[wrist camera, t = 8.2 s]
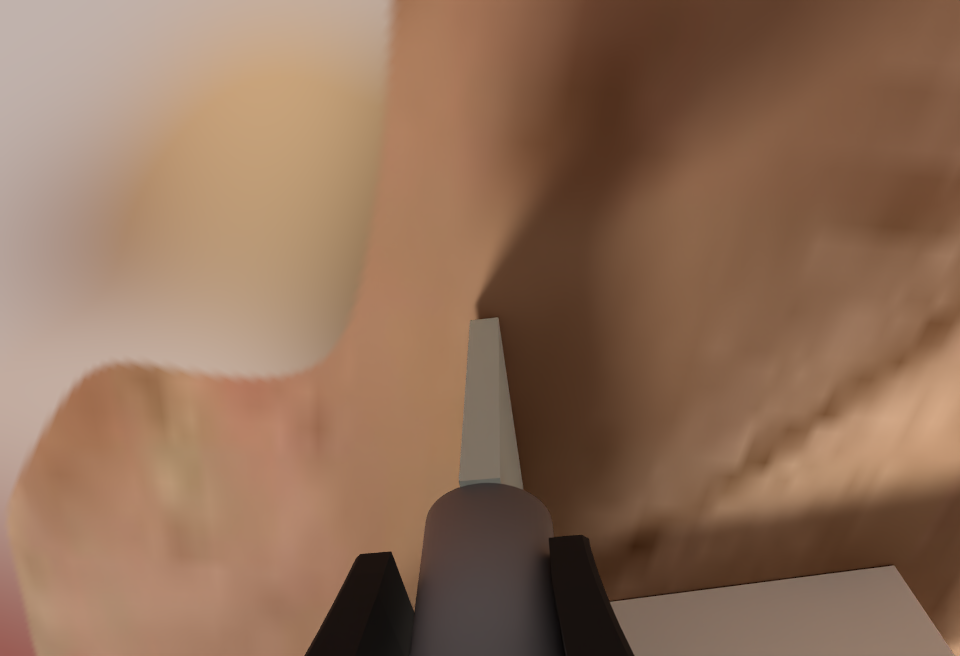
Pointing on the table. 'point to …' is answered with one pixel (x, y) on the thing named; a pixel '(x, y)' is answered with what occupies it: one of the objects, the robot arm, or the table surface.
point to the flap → (487, 534)
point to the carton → (786, 619)
